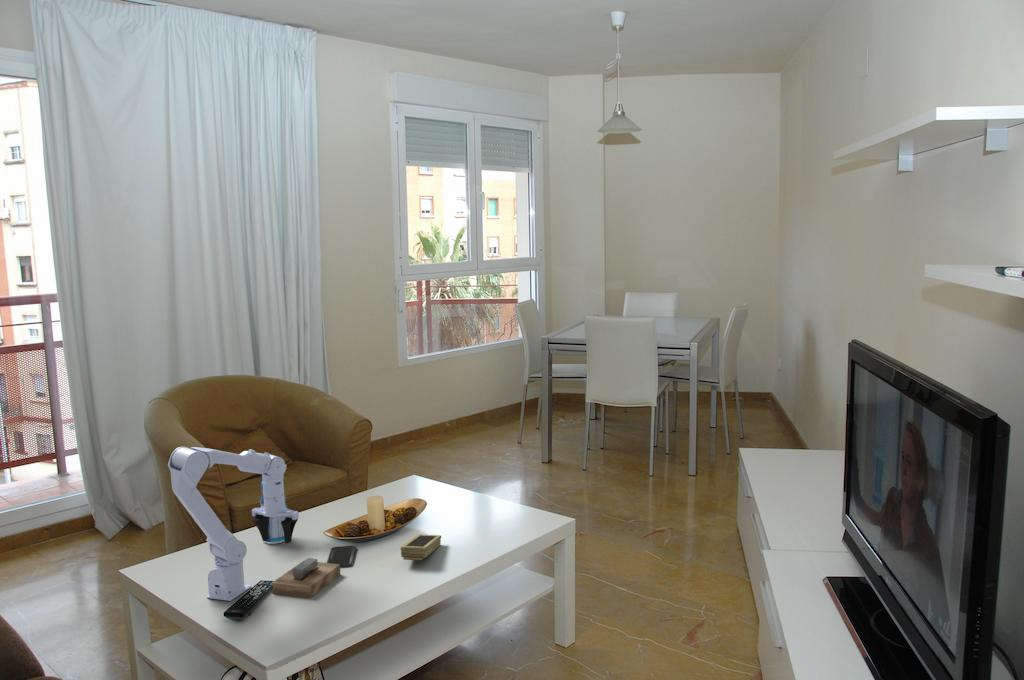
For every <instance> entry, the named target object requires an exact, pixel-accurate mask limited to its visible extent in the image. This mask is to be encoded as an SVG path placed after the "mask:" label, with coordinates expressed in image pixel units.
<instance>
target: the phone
mask: <svg viewBox="0 0 1024 680" xmlns="http://www.w3.org/2000/svg"><path fill="white" fill-rule="evenodd" d="M356 552H357V545H345V546H334V547H333V546H332V547H331V549H330V551H329V554H328V558H327V560H326V563H332V564H340V569H342V568H350V567H351V568H352V567H353V564H354V560H355V556H356Z"/></svg>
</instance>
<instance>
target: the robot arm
mask: <svg viewBox="0 0 1024 680" xmlns="http://www.w3.org/2000/svg"><path fill="white" fill-rule="evenodd" d="M168 459H169V460H168V463H167V466H168V468H169V472H170V479H171V481H170V482H171V490H172V492H173V493H174V495H175V496H176V498H177V500H179V502H180V503H181V505H182V506H183V507H184V508H185V510H186V511H187V512H188V513H189V515H190V516H191V518H192V519H193V520H194V522H195V523H196V524H197V526H198V527H199V528H200V530H201V531H202V532H203V533H204V535H205V536H206V540H205V541H206V543H208V545H209V546H208V547H209V552H210V553H211V555H213V556H214V566H213V567H212V569H211V570H210V571H209V572H208V575H207V585H208V595H206V598H207V599H213V600H220V601H221V600H222V601H226V602H227V601H228V602H231V601H233V600H234V599H236V598H237V597H238V596H240V595H242V594H243V593H245V592H246V591H247V590H249V589H250V588H252V585H251V584H245V575H244V573H245V572H244V558H245V557H246V554H247V545H246V543H245V542H244V541H242V540H240V539H238V538H237V537H236V536H235V535H234V534H233V533H231V531H230V530H228V529H227V528H226V527H225V525H224V523H222V521H221V520H220V518H219V517H218V516H217V514H216V513H215V512H214V510H213V508H211V506H210V505H209V503H208V502H207V501H206V499H205V498H204V497H203V495H202V494H201V492H200V491H199V490H198V489H197V485H198V483H199V482H200V480H201V479H202V478H203V476H204V474H205V472H206V471H207V469H211V468H212V467H213V466H214V465H215V464H219V465H228V466H236V467H237V468H238V470H239V471H240V472H244V473H250V474H251V473H252V474H259V475H261V479H262V481H263V492H262V495H263V494H264V508H261V507H254V508H252V509H251V516H252V517H254V518H253V519H252V521H253V523H254V525H255V526H256V528H257V529H258V531H259V534H260V536H261V539H262V542H263V541H266V540H268V539H269V519H270V517H277V518H285V520H283V521H281V525H282V527H283V531H284V540H285V541H284V544H289V543H290V542H292V538H293V533H294V530H295V527H296V525H297V522H298V520H299V518H300V517H299V516H300V515H299V511H296V510H292V509H290V508H287V509H286V508H285V503H286V502H285V500H284V495H285V487H284V486H285V485H284V479H285V478H284V475H285V473H286V470H287V465H288V464H286V463H285V460H284V458H282V457H280V456H277V455H273V454H270V452H264V453H261V452H256V450H254V449H248V450H244V451H242V452H240V453H233V452H229V451H228V452H227V451H223V450H219V449H218V450H217V449H212V448H210V447H209V448H208V447H207V448H206V447H197V446H191V447H189V446H188V447H187V446H178V447H176V448H175V449H174V450H173V451H172V452H171V454H170V457H169V458H168Z"/></svg>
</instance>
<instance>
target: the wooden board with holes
mask: <svg viewBox="0 0 1024 680" xmlns="http://www.w3.org/2000/svg"><path fill="white" fill-rule="evenodd" d="M305 560H306V559H304V560H303V561H305ZM303 561H301V562H299V563H298V564H297V565H299V564H300V563H302V562H303ZM297 565H295V566H294V567H292V568H291V569H290V570H288V571H286V572H284V574H282V575H281V576H279V577H278V578H276V579H274V581H272V582H271V587H272V586H273V589H274V590H272V589H271V592H272V593H271V594H274V595H275V594H276V595H283V596H284V595H286V596H291V597H299V598H307V599H311V598H312V597H313V596H315V595H316V594H317V593H319V591H321V590H322V589H324V588H325V587H326V586H327V585H329V584H330V583H331V582H333V581H334V580H335V579H336V578H338V577H339V576H340V575H341V568H340V564H332V563H327V562H323V561H322V562H321V561H318V566H317V567H316V569H317V570H316V571H315V572H311V571H310V572H308V573H307V574H306V575H305V579H304V580H295V577H294V576H293V570H292V569H293V568H295V567H296V566H297Z"/></svg>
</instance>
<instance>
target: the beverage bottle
mask: <svg viewBox="0 0 1024 680" xmlns="http://www.w3.org/2000/svg"><path fill="white" fill-rule="evenodd" d="M260 487H261V489H260V490H261V492H262V495H261V497H260V500H259V504H260V508H264V494H263V480H262V481H261V482H260ZM284 500H285V508H286V509H288V505H287V503H286V502H287V498H286V495H285V494H284ZM283 520H285V518H277V517H270V519H269V539H268V540H266V541H263V540H262V542H263V543H265V544H269V545H275V544H281V543H283V542H284V543H285V540H284V531H283V527H282V525H281V521H283Z"/></svg>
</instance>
